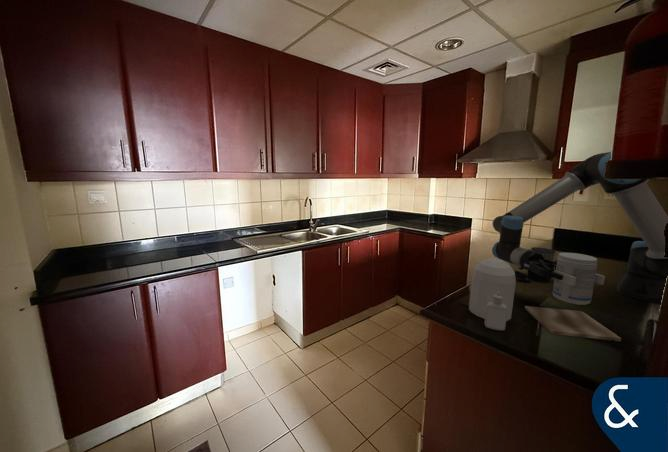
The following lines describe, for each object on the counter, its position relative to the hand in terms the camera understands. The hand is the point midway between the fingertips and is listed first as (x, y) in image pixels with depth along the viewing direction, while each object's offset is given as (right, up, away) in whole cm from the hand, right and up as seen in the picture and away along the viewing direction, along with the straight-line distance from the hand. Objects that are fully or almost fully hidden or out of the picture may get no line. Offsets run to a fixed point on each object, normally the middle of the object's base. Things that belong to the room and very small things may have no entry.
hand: (589, 281), depth 82 cm
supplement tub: (-1, -7, +6) cm, 9 cm away
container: (-23, -14, +14) cm, 30 cm away
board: (-1, -15, +7) cm, 17 cm away
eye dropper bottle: (-27, -16, +4) cm, 31 cm away
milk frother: (+17, -9, +46) cm, 50 cm away
